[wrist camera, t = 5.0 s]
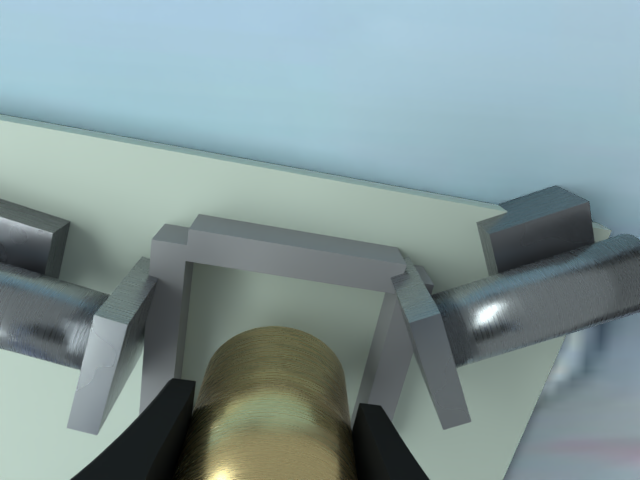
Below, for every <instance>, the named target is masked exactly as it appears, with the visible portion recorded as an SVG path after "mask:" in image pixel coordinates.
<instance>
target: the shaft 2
mask: <svg viewBox="0 0 640 480" xmlns="http://www.w3.org/2000/svg"><path fill="white" fill-rule="evenodd" d="M499 206H500V207H502V208H503V209H505V210H506V211H507V212H506V213H503V214H500V215H497V216H494V217H491V218H488V219H485V220H482V221H479V222H476V223H477V227H478V232H479V236H480V240H481V244H482V249H483V253H484V257H485V262H486V266H487V270H488V274H489V277H486V278H483V279H480V280H477V281H474V282H470V283H467V284H464V285H461V286H458V287H455V288H452V289H449V290H445V291H442V292H439V293H436V294H433V295H430V294H429V292H428V290H427V288H426V286H425V285H424V283H423V281H422V279H421V277H420V276H419V274H418V272H417V270H416V268H415V267H414V265H413V263H412V261H411V259H410V258H409V256H408V257H405V258H403V259H404V261H405V263H406V269H405V272H404V273H403V274H400V275H397V276H394V277H391V281H392V285H393V288H394V291H395V295H396V297H397V300H398V303H399V306H400V309H401V312H402V316H403V319H404V322H405V325H406V328H407V331H408V334H409V337H410V340H411V344H412V347H413V350H414V352H413V353H414V356H415V359H416V361H417V364H418V366H419V369H420V371H421V374H422V377H423V379H424V382H425V384H426V387H427V390H428V392H429V395H430V397H431V400H432V402H433V405H434V408H435V410H436V413H437V415H438V418H439V421H440V423H441V426H442V428H443V430H446V429H449V428H452V427H456V426H459V425H463V424H466V423H469V422H471V418H470V415H469V411H468V408H467V404H466V401H465V397H464V394H463V390H462V387H461V383H460V380H459V376H458V373H457V369H456V368H459V367H462V366H465V365H469V364H472V363H475V362H478V361H482V360H485V359H488V358H492V357H495V356H498V355H501V354H505V353H508V352H511V351H514V350H518V349H521V348H524V347H528V346H531V345H534V344H537V343H541V342H544V341H547V340H551V339H554V338H557V337H560V336H564V335H567V334H570V333H574V332H577V331H580V330H583V329H587V328H590V327H593V326H596V325H600V324H603V323H606V322H610V321H613V320H616V319H619V318H623V317H626V316H629V315H633V314H636V313H639V312H640V240H639V239H638V238H636V237H634V236H632V235H630V234H621V235H617V236H614V237H611V238H608V239H605V240H602V241H599V242H596V243H595V241H594V234H593V226H592V219H591V212H590V205H589V201H587V200H585V199H583V198H581V197H579V196H577V195H575V194H572V193H570V192H568V191H566V190H564V189H562V188H560V187H558V186H553V187H550V188H547V189H544V190H541V191H538V192H535V193H532V194H529V195H526V196H523V197H520V198H517V199H514V200H511V201H508V202H505V203H502V204H499Z"/></svg>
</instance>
